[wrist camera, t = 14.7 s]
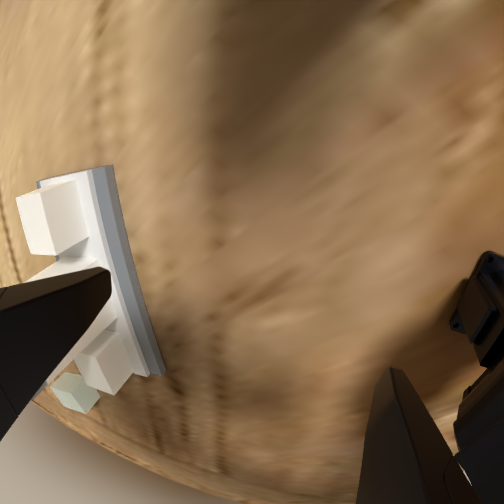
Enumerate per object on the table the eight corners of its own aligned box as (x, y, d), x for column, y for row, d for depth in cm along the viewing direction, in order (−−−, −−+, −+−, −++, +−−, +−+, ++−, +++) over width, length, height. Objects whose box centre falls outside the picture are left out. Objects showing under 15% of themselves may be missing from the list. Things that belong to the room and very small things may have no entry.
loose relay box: (87, 375, 39) (70, 393, 35) (101, 396, 40) (86, 413, 37) (65, 371, 41) (49, 387, 38) (78, 390, 42) (64, 406, 39)
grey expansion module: (98, 258, 26) (-7, 334, 15) (117, 317, 28) (32, 400, 18) (64, 256, 27) (-31, 320, 17) (82, 310, 30) (2, 380, 19)
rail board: (112, 164, 23) (61, 181, 19) (166, 370, 32) (139, 407, 27) (43, 179, 27) (0, 195, 22) (98, 352, 35) (71, 381, 30)
